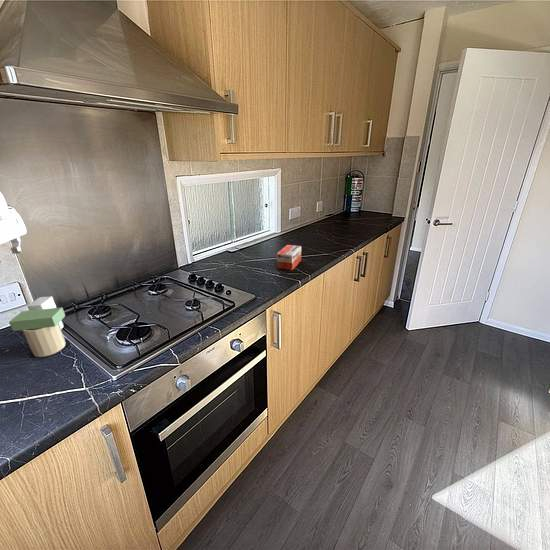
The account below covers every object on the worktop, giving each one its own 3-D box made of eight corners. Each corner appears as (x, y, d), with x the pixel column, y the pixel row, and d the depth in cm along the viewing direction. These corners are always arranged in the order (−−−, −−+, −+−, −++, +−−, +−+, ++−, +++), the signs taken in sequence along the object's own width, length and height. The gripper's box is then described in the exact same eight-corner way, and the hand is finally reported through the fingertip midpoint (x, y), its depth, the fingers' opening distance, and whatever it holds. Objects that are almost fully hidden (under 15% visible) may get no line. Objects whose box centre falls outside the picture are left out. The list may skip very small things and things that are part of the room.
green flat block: (12, 331, 82) (8, 322, 81) (25, 319, 88) (21, 311, 87) (55, 326, 84) (51, 317, 83) (65, 315, 89) (62, 307, 88)
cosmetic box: (51, 328, 100) (39, 296, 95) (64, 327, 100) (52, 295, 96) (40, 338, 94) (26, 305, 90) (54, 337, 95) (41, 304, 90)
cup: (27, 358, 85) (15, 332, 82) (42, 342, 92) (32, 317, 89) (57, 355, 86) (47, 329, 83) (70, 338, 94) (61, 314, 90)
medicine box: (292, 270, 141) (292, 255, 138) (276, 268, 144) (276, 253, 140) (301, 260, 154) (301, 245, 150) (287, 258, 156) (286, 244, 153)
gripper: (0, 204, 88) (17, 248, 94) (-58, 218, 70) (-33, 272, 75) (23, 203, 89) (39, 246, 95) (-28, 217, 71) (-5, 269, 76)
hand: (7, 258), depth 85 cm, fingers open, 8 cm apart
